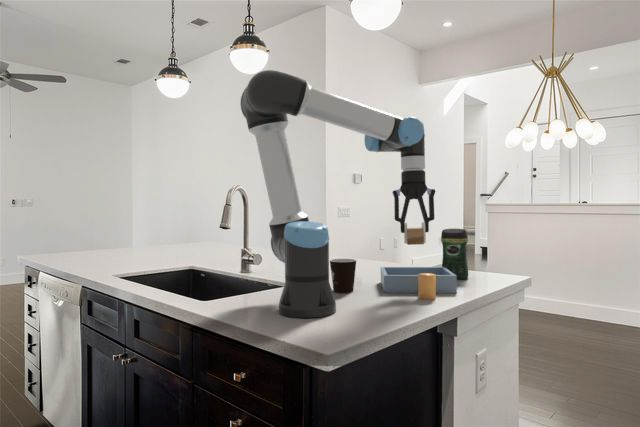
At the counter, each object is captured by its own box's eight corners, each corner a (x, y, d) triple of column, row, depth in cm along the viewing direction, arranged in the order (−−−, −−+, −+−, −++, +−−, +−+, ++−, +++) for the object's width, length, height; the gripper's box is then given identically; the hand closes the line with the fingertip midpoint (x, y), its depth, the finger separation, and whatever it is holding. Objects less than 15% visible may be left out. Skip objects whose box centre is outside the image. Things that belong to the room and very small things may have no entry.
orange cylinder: (437, 299, 126) (437, 276, 125) (419, 299, 126) (419, 275, 126) (434, 296, 131) (434, 273, 130) (417, 296, 131) (417, 273, 131)
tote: (456, 293, 134) (456, 275, 134) (384, 292, 136) (384, 275, 136) (444, 282, 153) (444, 267, 152) (380, 282, 154) (380, 267, 154)
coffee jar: (469, 277, 163) (469, 228, 163) (466, 280, 156) (466, 229, 156) (443, 275, 168) (443, 227, 167) (439, 278, 160) (439, 228, 160)
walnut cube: (423, 244, 136) (423, 228, 136) (407, 244, 136) (407, 228, 136) (421, 242, 141) (421, 227, 141) (406, 243, 141) (405, 227, 141)
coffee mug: (354, 294, 135) (354, 262, 134) (327, 293, 136) (327, 261, 136) (359, 287, 146) (358, 257, 146) (334, 286, 148) (333, 257, 148)
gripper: (439, 170, 141) (441, 241, 142) (384, 172, 143) (385, 242, 143) (444, 168, 133) (445, 243, 134) (385, 170, 135) (387, 244, 136)
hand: (414, 242), depth 139 cm, fingers closed on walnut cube, 5 cm apart
